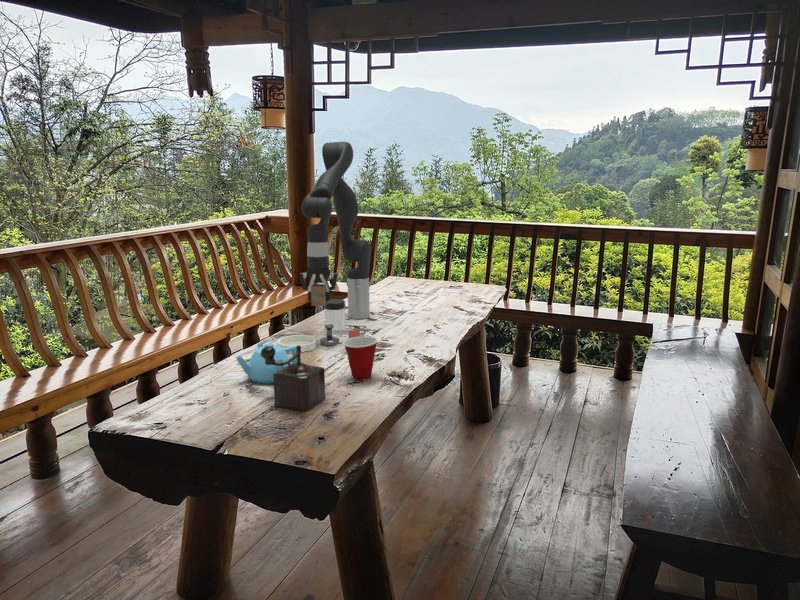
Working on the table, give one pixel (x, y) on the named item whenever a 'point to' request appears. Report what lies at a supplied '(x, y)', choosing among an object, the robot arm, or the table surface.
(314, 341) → the dish
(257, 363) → the teapot
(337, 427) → the table surface
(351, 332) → the crank
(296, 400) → the coffee grinder
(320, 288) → the block
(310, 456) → the table surface
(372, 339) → the plastic cup
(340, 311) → the jar
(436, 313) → the table surface
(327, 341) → the base
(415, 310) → the table surface
